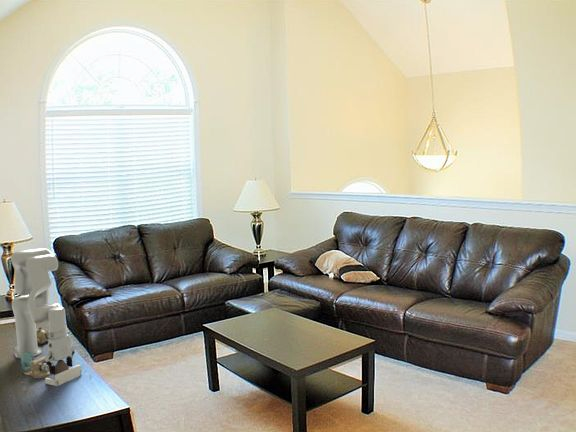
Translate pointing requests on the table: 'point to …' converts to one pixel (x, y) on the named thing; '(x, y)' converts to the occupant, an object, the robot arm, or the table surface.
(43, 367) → the mallet
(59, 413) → the table surface
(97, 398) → the table surface
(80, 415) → the table surface
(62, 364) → the vase
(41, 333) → the ceramic sculpture
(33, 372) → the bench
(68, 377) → the cradle
